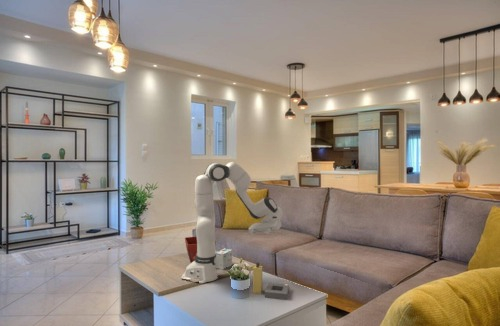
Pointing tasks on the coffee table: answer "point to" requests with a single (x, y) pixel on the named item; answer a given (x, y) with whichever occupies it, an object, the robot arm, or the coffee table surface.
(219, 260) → the light bulb box
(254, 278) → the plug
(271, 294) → the socket
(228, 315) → the coffee table surface
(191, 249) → the plant pot
